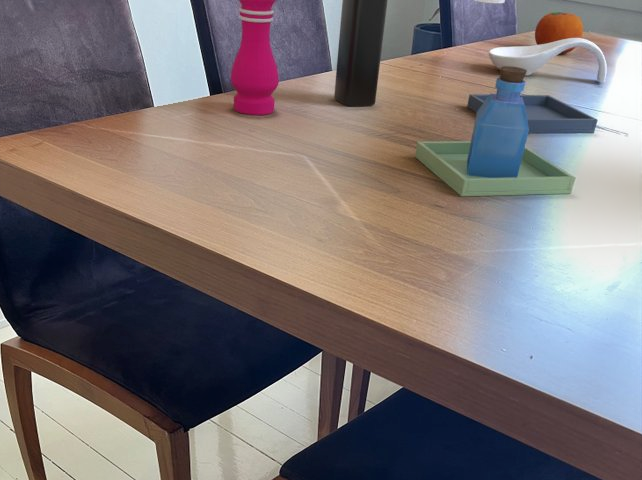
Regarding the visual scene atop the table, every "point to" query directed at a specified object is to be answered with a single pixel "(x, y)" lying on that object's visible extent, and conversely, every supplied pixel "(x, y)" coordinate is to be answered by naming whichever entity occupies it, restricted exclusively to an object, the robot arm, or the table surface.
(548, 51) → the white ladle
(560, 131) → the slate tray
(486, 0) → the beverage cup
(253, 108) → the pepper mill
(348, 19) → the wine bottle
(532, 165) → the sage tray
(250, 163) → the table surface
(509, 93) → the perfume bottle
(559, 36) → the fruit
